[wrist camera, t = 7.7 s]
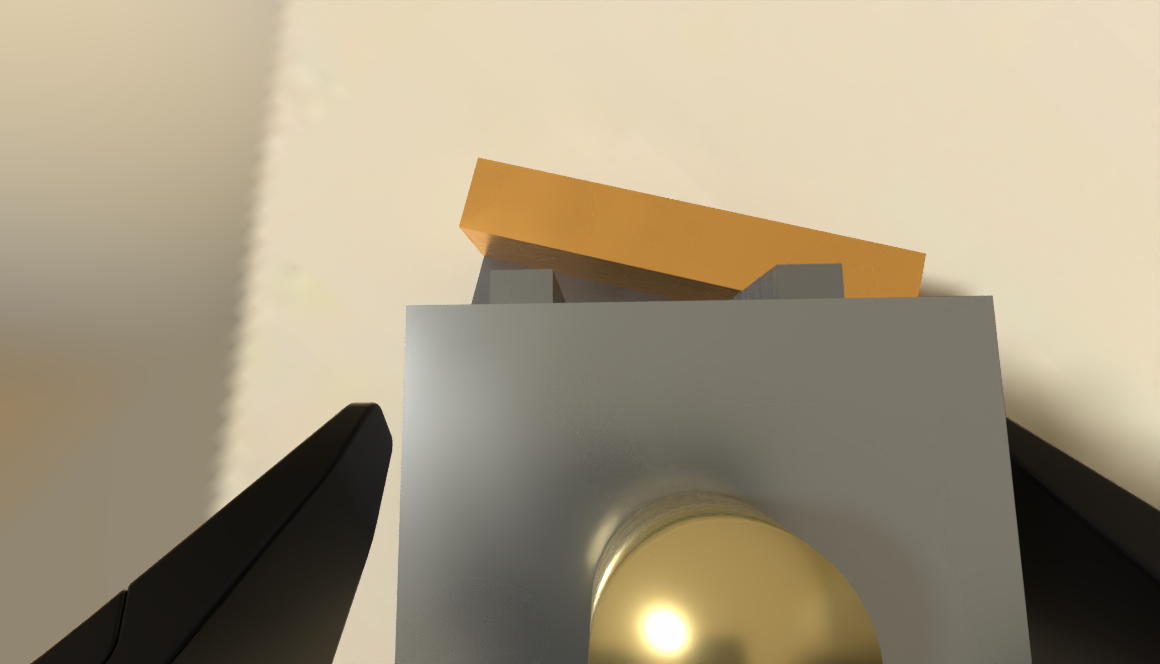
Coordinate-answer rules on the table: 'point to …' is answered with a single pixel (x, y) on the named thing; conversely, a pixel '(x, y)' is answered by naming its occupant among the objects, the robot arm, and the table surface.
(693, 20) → the table surface
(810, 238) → the coupler plate
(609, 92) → the table surface
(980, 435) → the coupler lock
